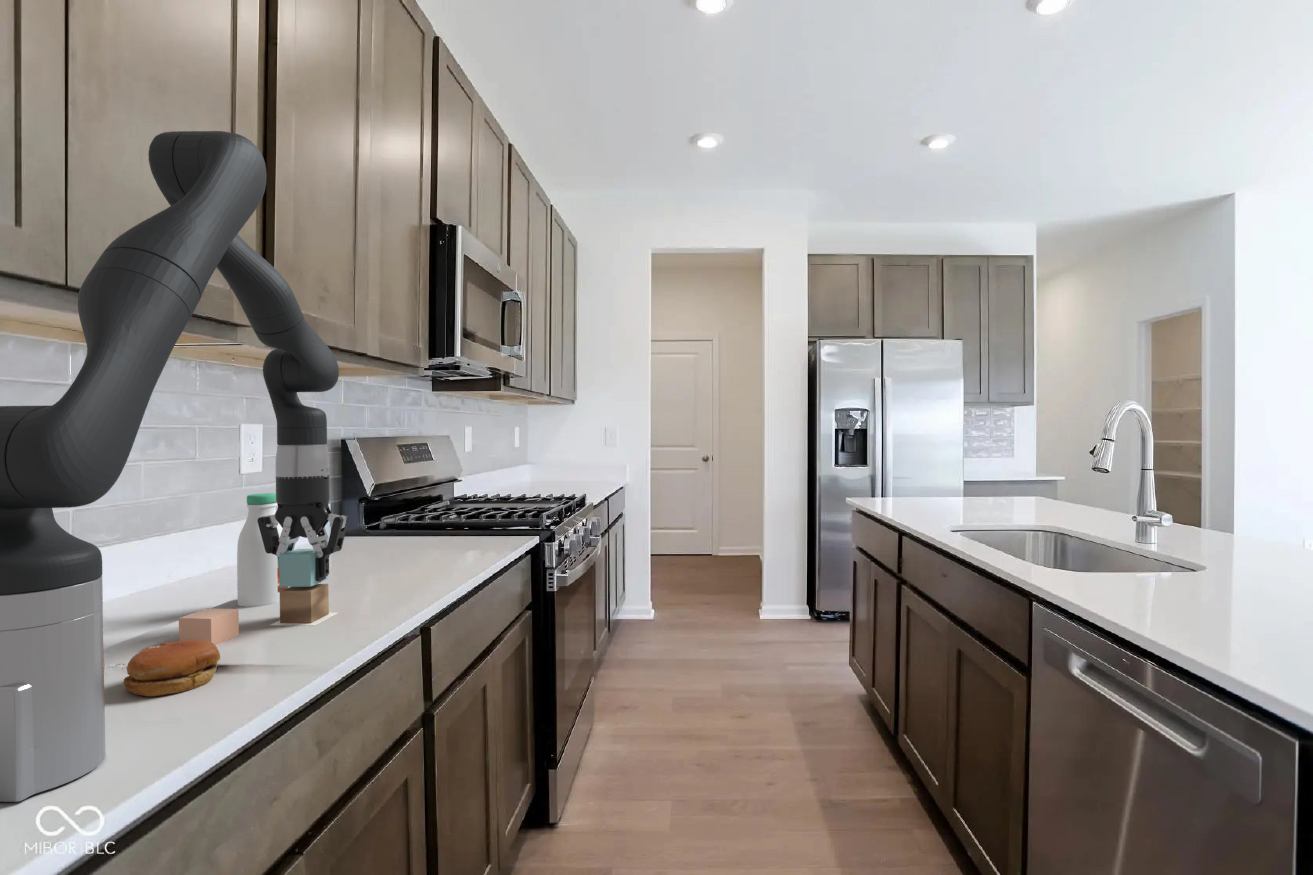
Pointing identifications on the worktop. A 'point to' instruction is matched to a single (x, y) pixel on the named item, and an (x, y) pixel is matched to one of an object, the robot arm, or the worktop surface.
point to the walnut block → (304, 604)
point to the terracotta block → (210, 625)
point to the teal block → (298, 568)
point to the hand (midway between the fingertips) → (304, 579)
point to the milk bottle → (257, 557)
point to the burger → (172, 668)
